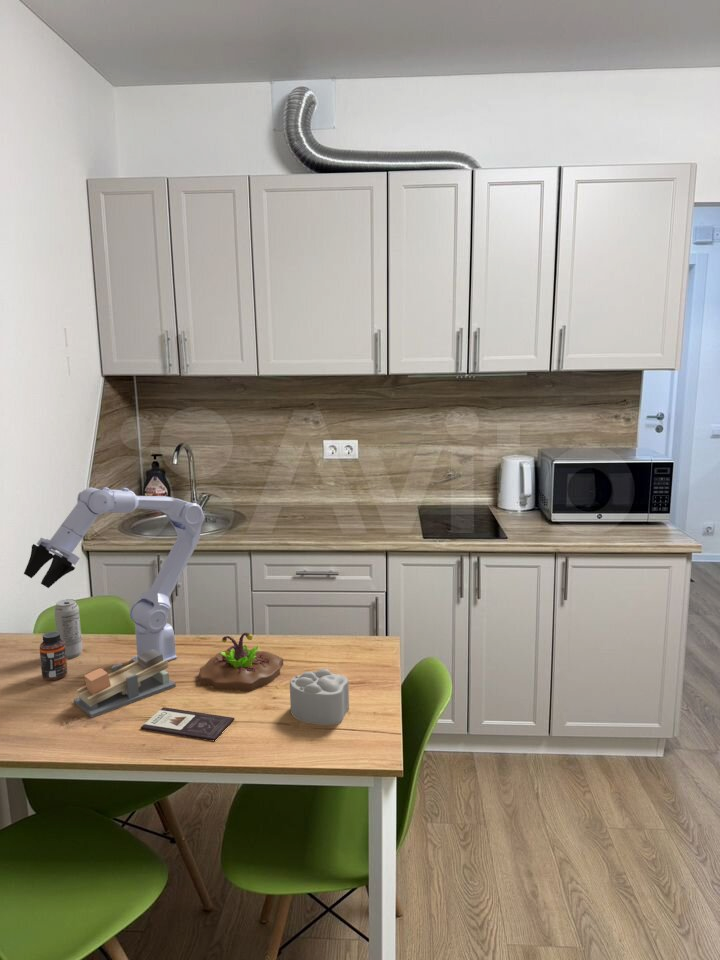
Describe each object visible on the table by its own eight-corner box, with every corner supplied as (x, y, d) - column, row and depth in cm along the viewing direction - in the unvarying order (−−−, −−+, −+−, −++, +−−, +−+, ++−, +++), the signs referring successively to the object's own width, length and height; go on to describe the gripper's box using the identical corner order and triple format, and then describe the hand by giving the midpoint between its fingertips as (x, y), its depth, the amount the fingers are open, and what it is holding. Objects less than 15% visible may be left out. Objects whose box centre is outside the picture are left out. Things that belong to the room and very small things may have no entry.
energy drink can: (77, 648, 197) (72, 596, 194) (86, 654, 193) (81, 602, 190) (55, 654, 193) (50, 602, 190) (64, 661, 189) (58, 608, 186)
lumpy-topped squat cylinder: (338, 727, 154) (337, 690, 152) (283, 719, 158) (281, 683, 156) (352, 704, 164) (351, 669, 162) (299, 697, 168) (298, 663, 166)
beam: (156, 663, 179) (153, 646, 177) (169, 671, 174) (165, 654, 173) (80, 701, 166) (75, 683, 164) (91, 711, 161) (86, 692, 160)
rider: (104, 682, 168) (100, 667, 167) (111, 688, 165) (107, 673, 164) (87, 690, 166) (84, 675, 164) (95, 696, 163) (91, 681, 162)
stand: (156, 673, 181) (154, 651, 180) (175, 686, 174) (174, 663, 173) (74, 702, 167) (71, 678, 166) (91, 717, 160) (89, 693, 158)
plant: (259, 697, 168) (257, 653, 166) (187, 686, 174) (185, 643, 172) (293, 662, 187) (291, 622, 185) (227, 653, 193) (225, 614, 191)
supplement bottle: (58, 682, 177) (54, 639, 175) (37, 680, 178) (32, 638, 176) (72, 671, 182) (68, 630, 180) (52, 670, 184) (47, 628, 182)
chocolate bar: (215, 739, 149) (140, 727, 154) (215, 743, 149) (140, 731, 155) (234, 717, 158) (163, 707, 163) (234, 721, 158) (163, 711, 163)
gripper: (43, 515, 170) (7, 564, 166) (76, 531, 162) (39, 583, 157) (64, 530, 175) (29, 577, 171) (97, 546, 167) (62, 596, 162)
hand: (35, 580), depth 164 cm, fingers open, 7 cm apart
